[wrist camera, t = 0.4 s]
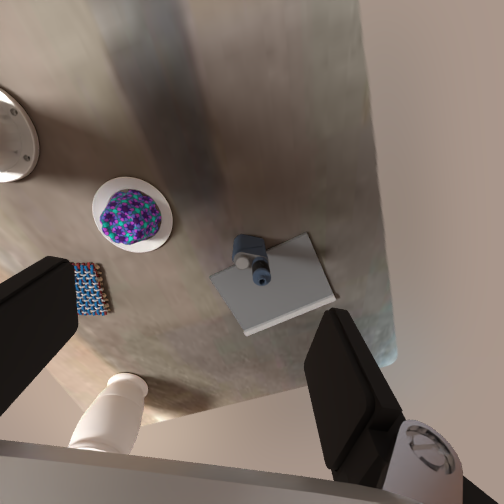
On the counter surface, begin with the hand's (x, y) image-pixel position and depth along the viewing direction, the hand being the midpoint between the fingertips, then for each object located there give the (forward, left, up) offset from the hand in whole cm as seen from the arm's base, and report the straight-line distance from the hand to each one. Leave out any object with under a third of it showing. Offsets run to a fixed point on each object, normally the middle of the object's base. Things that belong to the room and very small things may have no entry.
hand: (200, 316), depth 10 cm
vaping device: (-2, -10, -32) cm, 33 cm away
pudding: (-16, +2, -32) cm, 36 cm away
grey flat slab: (-2, -19, -31) cm, 37 cm away
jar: (-40, -28, -32) cm, 58 cm away
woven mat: (-33, -4, -32) cm, 46 cm away
